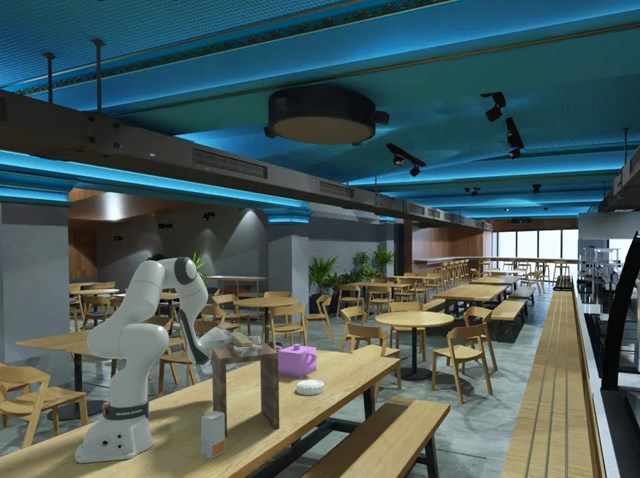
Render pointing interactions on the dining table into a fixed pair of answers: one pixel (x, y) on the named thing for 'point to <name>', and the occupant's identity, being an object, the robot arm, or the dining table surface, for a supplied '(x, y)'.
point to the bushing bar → (240, 340)
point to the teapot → (296, 360)
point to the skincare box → (212, 434)
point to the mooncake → (310, 387)
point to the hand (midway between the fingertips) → (237, 337)
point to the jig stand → (268, 377)
